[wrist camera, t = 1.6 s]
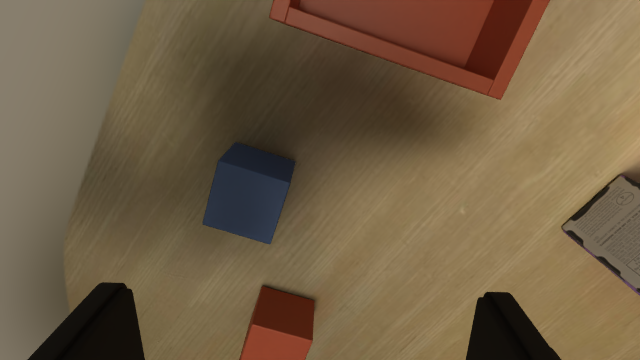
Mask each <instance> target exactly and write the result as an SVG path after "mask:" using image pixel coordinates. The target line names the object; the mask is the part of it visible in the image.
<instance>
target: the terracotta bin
mask: <svg viewBox="0 0 640 360" xmlns="http://www.w3.org/2000/svg"><path fill="white" fill-rule="evenodd" d="M549 1H550V0H273V4H272V8H271V12H270V16H269V18H271V19H273V20H276V21H278V22H281V23H283V24H286V25H289V26H292V27H294V28H297V29H300V30H303V31H306V32H309V33H311V34H314V35H317V36H320V37H323V38H325V39H328V40H331V41H334V42H337V43H340V44H342V45H345V46H348V47H351V48H354V49H356V50H359V51H362V52H365V53H368V54H371V55H373V56H376V57H379V58H382V59H385V60H387V61H390V62H393V63H396V64H399V65H402V66H404V67H407V68H410V69H413V70H416V71H418V72H421V73H424V74H427V75H430V76H433V77H435V78H438V79H441V80H444V81H447V82H450V83H452V84H455V85H458V86H461V87H464V88H467V89H470V90H473V91H476V92H478V93H481V94H484V95H487V96H490V97H493V98H496V99H499V100H501V98H502V96H503V94H504V92H505V90H506V88H507V86H508V84H509V82H510V80H511V78H512V76H513V74H514V72H515V70H516V68H517V66H518V64H519V62H520V60H521V58H522V56H523V54H524V52H525V50H526V48H527V46H528V44H529V42H530V40H531V37H532V35H533V33H534V31H535V29H536V27H537V25H538V23H539V21H540V19H541V17H542V15H543V13H544V11H545V9H546V7H547V5H548V3H549Z"/></svg>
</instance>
